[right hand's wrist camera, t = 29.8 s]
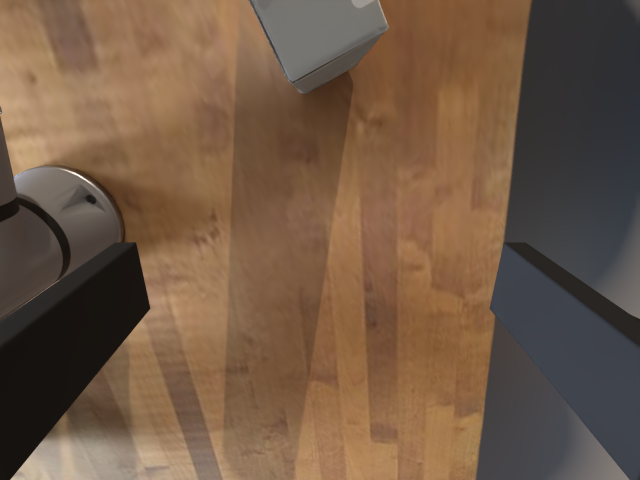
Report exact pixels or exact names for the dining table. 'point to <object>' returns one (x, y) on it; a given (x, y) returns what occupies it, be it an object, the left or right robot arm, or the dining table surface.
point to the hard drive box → (319, 36)
